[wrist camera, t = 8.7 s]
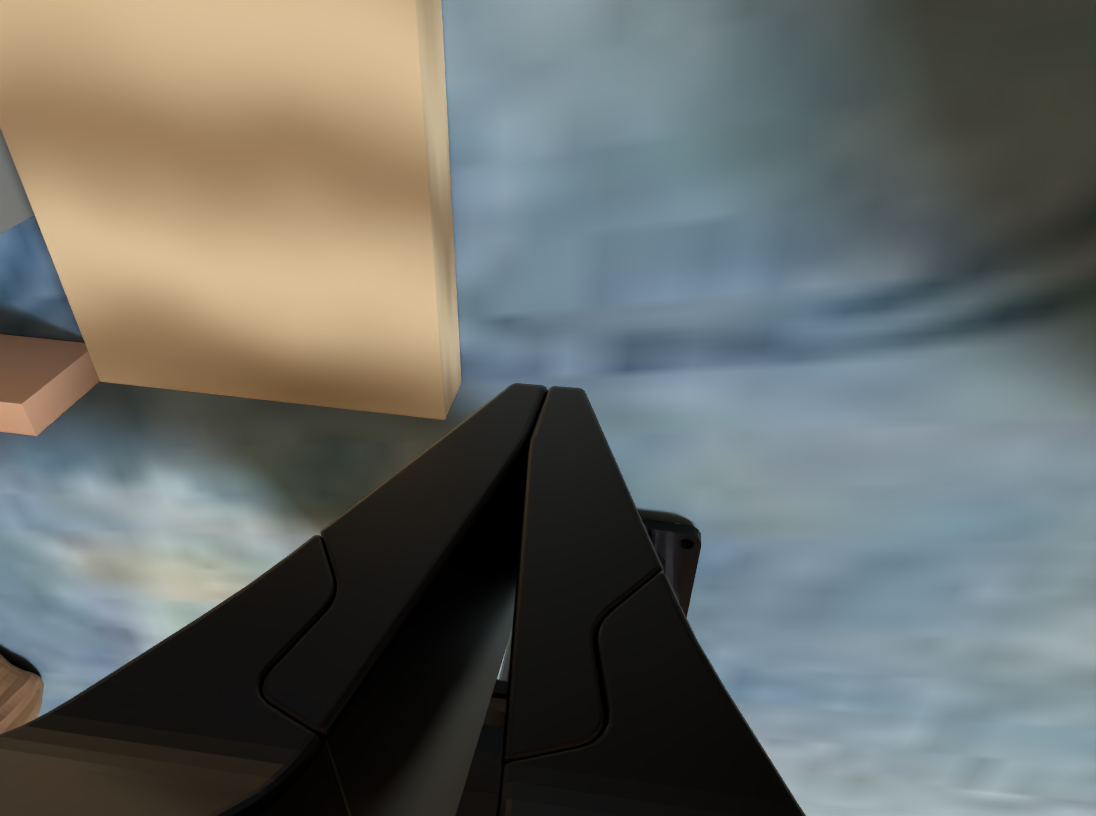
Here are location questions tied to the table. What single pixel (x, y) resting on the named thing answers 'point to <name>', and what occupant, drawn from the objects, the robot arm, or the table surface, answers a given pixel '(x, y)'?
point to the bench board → (245, 192)
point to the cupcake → (18, 696)
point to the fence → (41, 381)
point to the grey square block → (11, 191)
